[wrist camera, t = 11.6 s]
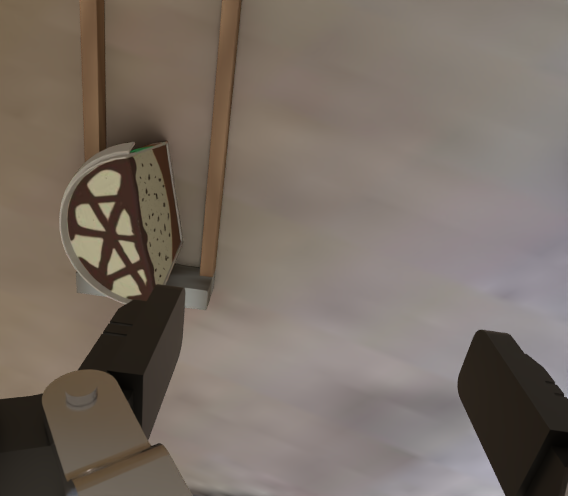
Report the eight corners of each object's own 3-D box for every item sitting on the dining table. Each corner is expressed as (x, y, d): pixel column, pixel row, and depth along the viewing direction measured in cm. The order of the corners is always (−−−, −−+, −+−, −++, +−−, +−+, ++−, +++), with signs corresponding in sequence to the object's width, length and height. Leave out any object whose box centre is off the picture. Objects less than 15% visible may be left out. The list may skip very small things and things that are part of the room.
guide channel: (253, -127, 31) (248, -150, 27) (213, 288, 44) (206, 310, 40) (84, -158, 30) (55, -186, 27) (95, 271, 44) (76, 292, 40)
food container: (92, 126, 38) (28, 152, 29) (165, 122, 38) (124, 148, 29) (121, 259, 43) (74, 317, 34) (185, 256, 43) (156, 314, 34)
